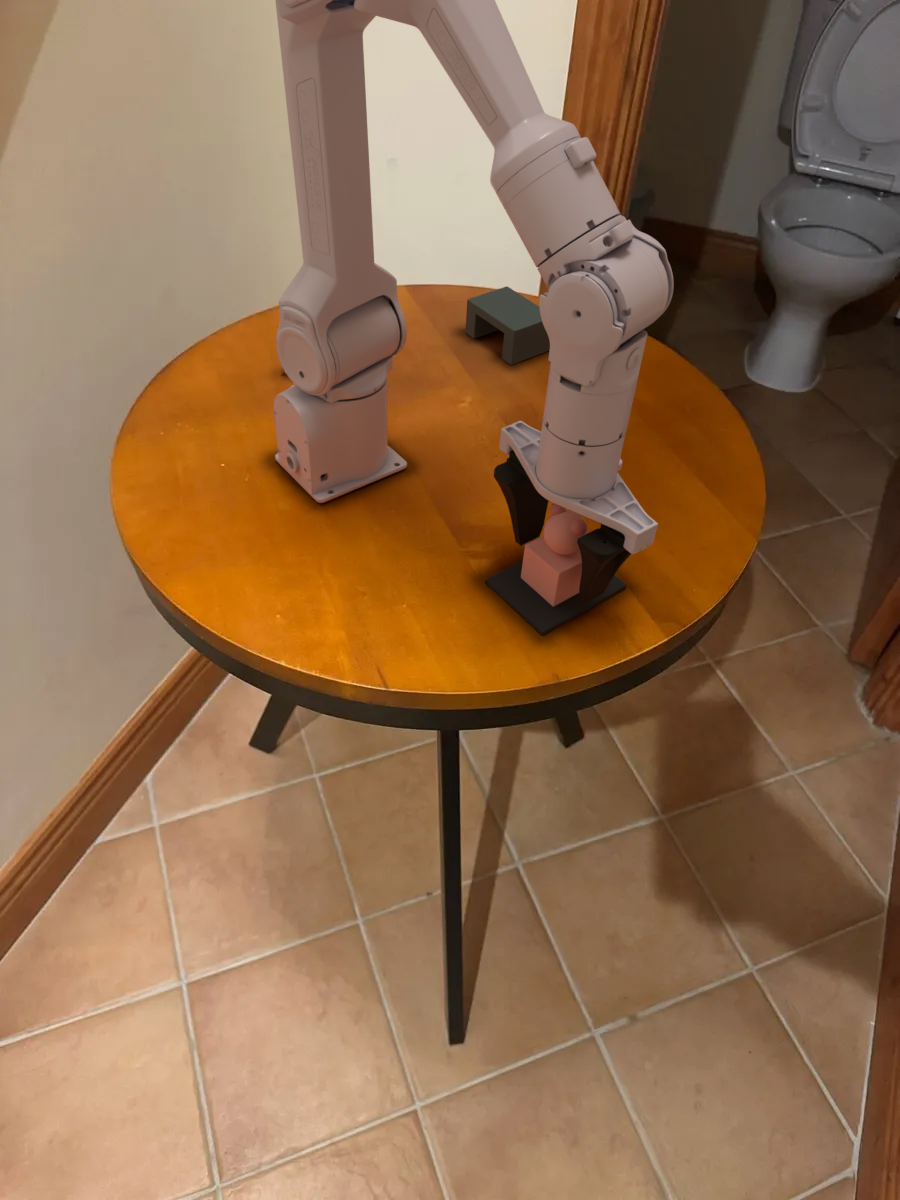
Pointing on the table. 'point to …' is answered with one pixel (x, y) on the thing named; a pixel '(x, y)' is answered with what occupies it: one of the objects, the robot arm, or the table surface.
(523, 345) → the grey step stool
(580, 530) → the toy
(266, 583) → the table surface
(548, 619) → the mat
